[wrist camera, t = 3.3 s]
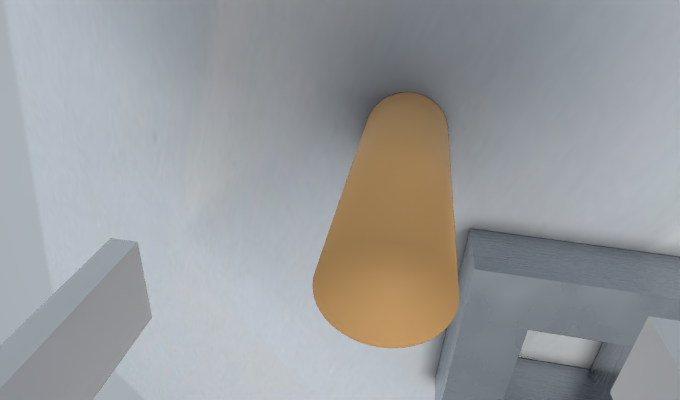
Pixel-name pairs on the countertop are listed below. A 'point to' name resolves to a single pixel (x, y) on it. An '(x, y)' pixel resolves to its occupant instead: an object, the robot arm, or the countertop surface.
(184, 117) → the countertop surface
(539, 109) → the countertop surface
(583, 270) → the grey peg socket
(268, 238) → the countertop surface
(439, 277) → the orange cylindrical peg
